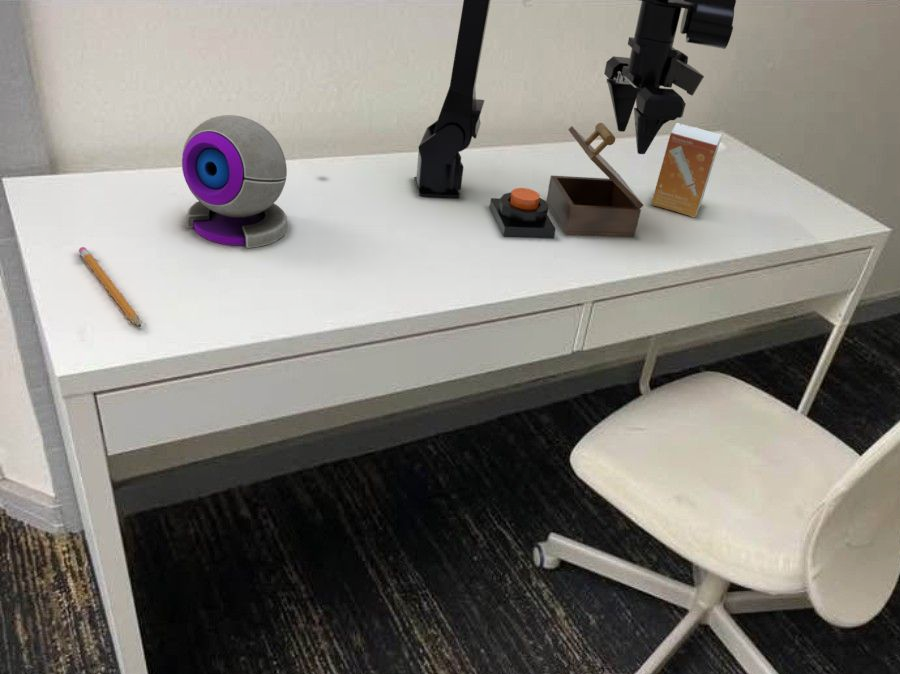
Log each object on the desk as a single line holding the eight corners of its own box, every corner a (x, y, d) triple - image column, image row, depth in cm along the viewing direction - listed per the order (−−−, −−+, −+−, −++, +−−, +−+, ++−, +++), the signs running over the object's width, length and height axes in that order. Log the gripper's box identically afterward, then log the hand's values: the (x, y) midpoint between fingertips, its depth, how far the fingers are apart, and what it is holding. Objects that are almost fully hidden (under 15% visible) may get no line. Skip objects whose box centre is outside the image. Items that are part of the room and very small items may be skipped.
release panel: (553, 238, 130) (557, 217, 128) (503, 237, 128) (506, 215, 126) (537, 209, 138) (540, 189, 135) (489, 207, 135) (492, 187, 133)
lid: (590, 159, 125) (613, 136, 123) (568, 129, 133) (589, 107, 132) (639, 209, 132) (662, 187, 131) (615, 178, 141) (636, 157, 139)
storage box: (565, 235, 132) (571, 206, 129) (545, 202, 140) (550, 175, 137) (634, 237, 135) (641, 210, 132) (610, 205, 144) (617, 179, 141)
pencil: (76, 252, 104) (134, 329, 94) (80, 245, 104) (138, 321, 93) (84, 254, 105) (142, 331, 94) (88, 247, 105) (146, 323, 94)
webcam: (167, 228, 113) (155, 117, 104) (227, 196, 123) (221, 92, 114) (251, 257, 111) (246, 146, 102) (305, 222, 121) (305, 118, 112)
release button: (541, 211, 130) (543, 200, 129) (513, 210, 128) (515, 199, 127) (534, 198, 133) (535, 188, 132) (506, 197, 132) (508, 187, 131)
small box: (650, 205, 147) (669, 131, 139) (657, 193, 152) (676, 121, 144) (696, 218, 145) (717, 144, 138) (701, 205, 150) (722, 133, 143)
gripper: (731, 61, 117) (701, 169, 127) (680, 24, 131) (657, 123, 141) (658, 54, 114) (632, 165, 123) (613, 16, 128) (594, 119, 137)
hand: (630, 142), depth 131 cm, fingers open, 9 cm apart
